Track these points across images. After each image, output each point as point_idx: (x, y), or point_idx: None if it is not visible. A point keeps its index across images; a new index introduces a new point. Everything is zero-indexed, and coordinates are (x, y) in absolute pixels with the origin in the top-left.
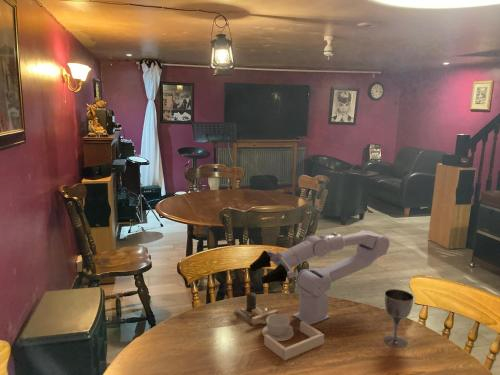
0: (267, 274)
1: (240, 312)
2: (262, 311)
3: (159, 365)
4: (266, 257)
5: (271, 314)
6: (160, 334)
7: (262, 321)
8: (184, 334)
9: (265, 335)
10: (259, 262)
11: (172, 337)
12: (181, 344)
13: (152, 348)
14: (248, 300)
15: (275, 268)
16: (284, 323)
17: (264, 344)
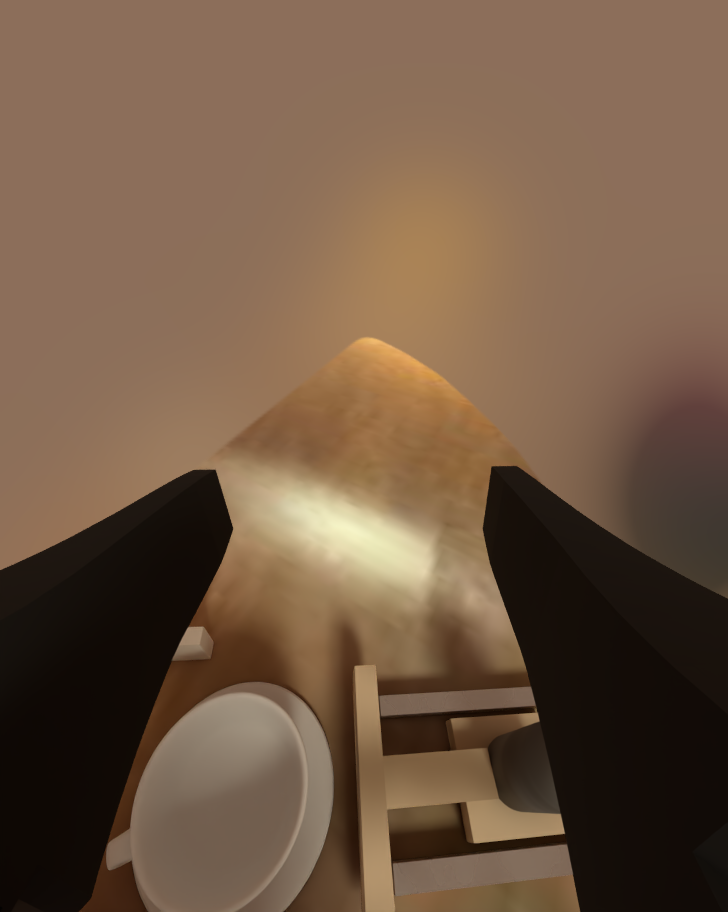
0: (152, 500)
1: (509, 692)
2: (486, 857)
3: (329, 379)
4: (669, 766)
5: (362, 844)
6: (456, 416)
7: (355, 745)
8: (432, 454)
9: (197, 629)
10: (547, 582)
11: (429, 429)
12: (385, 432)
13: (401, 388)
14: (528, 725)
15: (19, 605)
16: (230, 883)
17: (212, 642)
